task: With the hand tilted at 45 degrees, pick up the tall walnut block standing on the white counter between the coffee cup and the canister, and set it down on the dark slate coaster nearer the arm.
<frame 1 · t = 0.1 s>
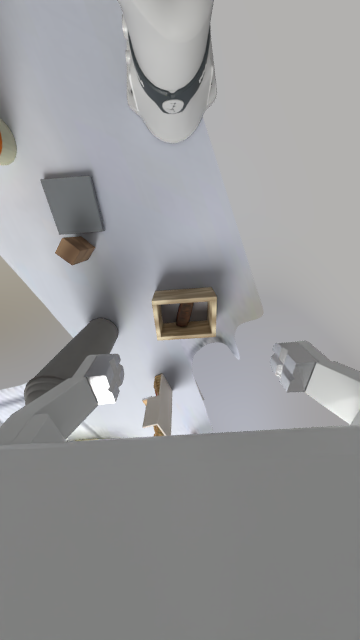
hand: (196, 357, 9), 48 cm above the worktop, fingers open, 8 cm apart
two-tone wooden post: (161, 383, 78), on the worktop
canister: (103, 330, 64), on the worktop
bamboo organizer: (184, 307, 60), on the worktop
brown rounded bar: (184, 307, 60), touching bamboo organizer
slate coaster: (76, 207, 46), on the worktop
walnut block: (84, 248, 51), on the worktop
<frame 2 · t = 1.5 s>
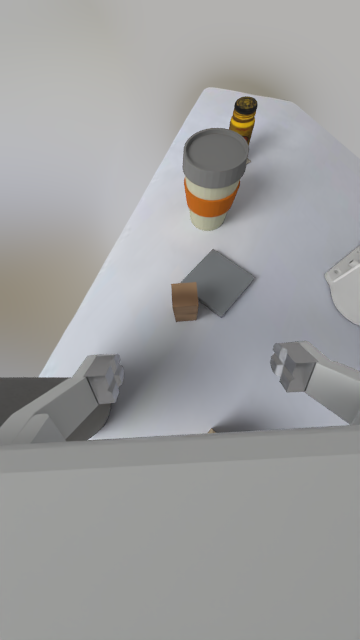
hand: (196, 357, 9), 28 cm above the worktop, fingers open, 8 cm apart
canister: (85, 406, 35), on the worktop
reusable coffee cup: (207, 217, 47), on the worktop
condiment: (232, 160, 53), on the worktop
slate coaster: (216, 283, 41), on the worktop
walnut block: (185, 311, 39), on the worktop
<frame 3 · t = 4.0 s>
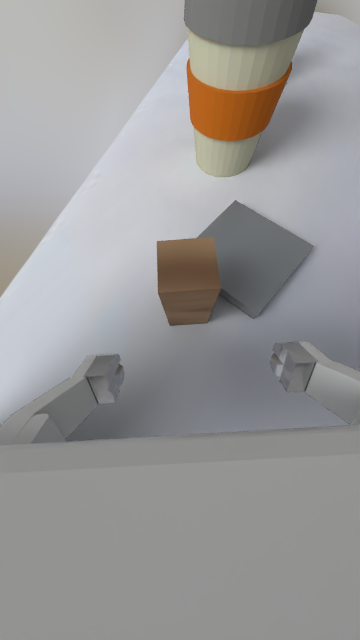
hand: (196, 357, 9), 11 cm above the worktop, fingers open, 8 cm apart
reusable coffee cup: (222, 159, 29), on the worktop
slate coaster: (241, 258, 23), on the worktop
walnut block: (187, 307, 22), on the worktop
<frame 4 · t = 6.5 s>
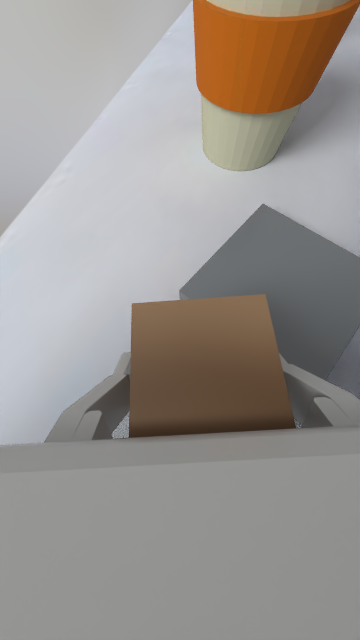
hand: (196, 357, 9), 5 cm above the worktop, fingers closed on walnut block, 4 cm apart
reusable coffee cup: (238, 147, 22), on the worktop
slate coaster: (275, 291, 16), on the worktop
walnut block: (193, 371, 14), on the worktop, touching gripper
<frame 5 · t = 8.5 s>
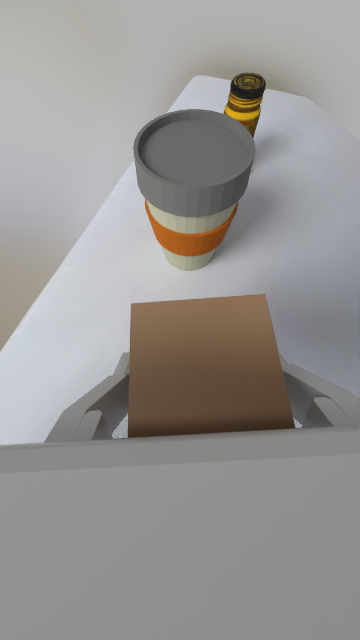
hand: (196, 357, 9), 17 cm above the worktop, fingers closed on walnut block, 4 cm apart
reusable coffee cup: (188, 250, 32), on the worktop
condiment: (227, 167, 38), on the worktop
walnut block: (193, 371, 14), point 12 cm above the worktop, touching gripper
when the fingers open (8 cm above the worktop, at t = 10.9 s): walnut block drops 1 cm, resting on slate coaster.
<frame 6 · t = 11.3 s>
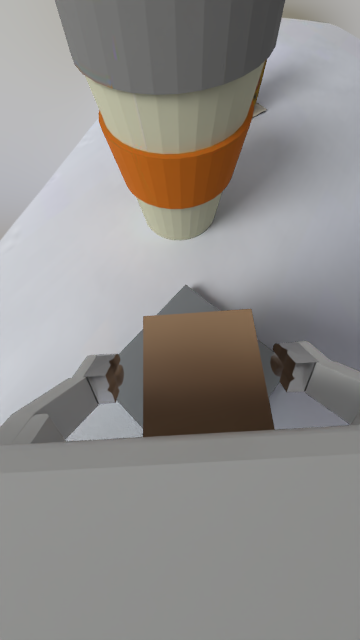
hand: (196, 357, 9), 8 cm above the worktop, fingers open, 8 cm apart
reusable coffee cup: (179, 213, 23), on the worktop
slate coaster: (192, 371, 17), on the worktop
walnut block: (193, 371, 15), point 1 cm above the worktop, touching slate coaster
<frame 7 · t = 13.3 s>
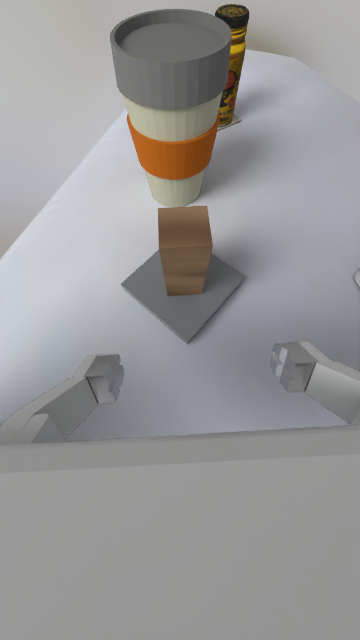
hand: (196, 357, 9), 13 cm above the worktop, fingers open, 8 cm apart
reusable coffee cup: (175, 189, 32), on the worktop
condiment: (215, 118, 38), on the worktop
slate coaster: (182, 286, 25), on the worktop
walnut block: (183, 280, 24), point 1 cm above the worktop, touching slate coaster
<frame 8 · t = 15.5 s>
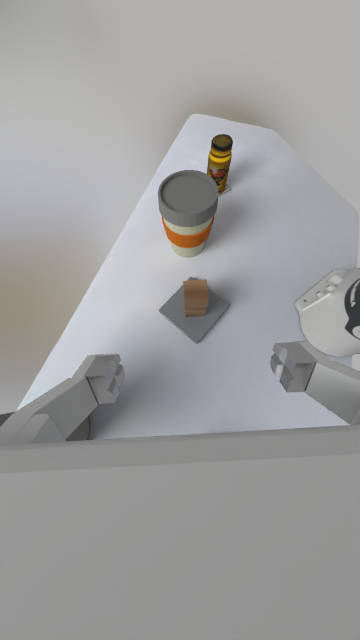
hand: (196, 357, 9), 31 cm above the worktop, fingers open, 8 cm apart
canister: (66, 429, 37), on the worktop
reusable coffee cup: (187, 244, 49), on the worktop
condiment: (213, 187, 56), on the worktop
slate coaster: (193, 309, 43), on the worktop
walnut block: (194, 307, 42), point 1 cm above the worktop, touching slate coaster
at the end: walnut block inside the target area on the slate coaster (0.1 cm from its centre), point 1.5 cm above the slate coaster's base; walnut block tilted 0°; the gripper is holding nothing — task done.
